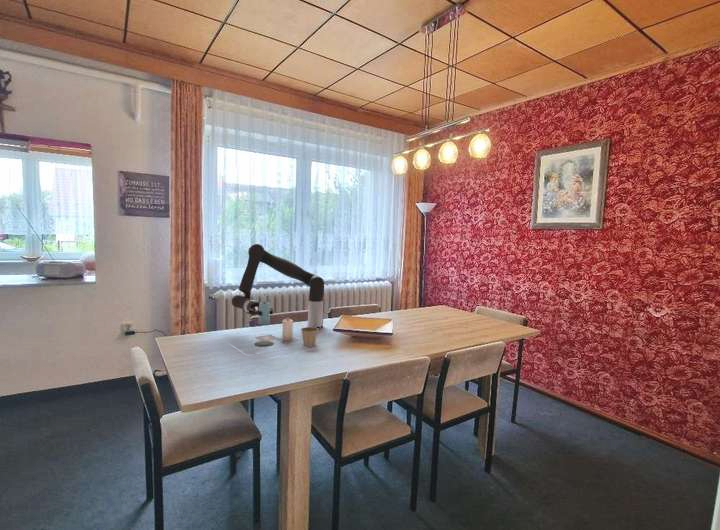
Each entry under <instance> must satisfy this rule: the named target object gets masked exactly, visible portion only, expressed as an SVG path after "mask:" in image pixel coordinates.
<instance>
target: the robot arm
mask: <svg viewBox="0 0 720 530" xmlns="http://www.w3.org/2000/svg"><path fill="white" fill-rule="evenodd" d="M247 253H248V260H247V264H246V267H245V270H244V273H243V275H242V278H241V281H240V283H239V287H238V290H239V292H241V293H243V295H239V294H236V295H234V296H233V297H232V299H231V305H232V306H233V307H235V308H237V309H241V310H243V311H245V312H246V314H248V315H251V316H258V317H259V316H262V312H261V311H259V303H260V302H261V301H257V300H254V299H251V298H252V297H251V294H252V288H253V285H254V281H255V278H256V274H257V270H258V268H259V265H260V263H262V264H264V265H267V266H269V267H270V268H272V269H273V270H275V271H277V272H279V273H280V274H282V275H284V276H286V277H288V278H291V279H294V280H297V281H300V282H302V283H303V284H305V285H307V286H308V287H309V295H308V305H307V307H308V310H307V327H314V328H317V327H320V328H322V327H324V311H323V309H324V308H323V303H324V301H323V300H324V295H325V281H324V279H323V277H321V276H319V275H317V274H313V273H312V272H309V271H307V270H306V269H303V268H302V267H300V265H297V264H296V263H295V262H292V261H290V260H288V259H286V258H284V257H281V256H278V255H275V254H272V253H270V252H269V251H267V250H266V249H265V248H264V246H263V245H262V244H259V243H254V244H252V245H250V247H249V249H248V252H247ZM273 314H274V308H273V307H272V306H270V315H273ZM321 326H322V327H321ZM317 329H318V328H317Z"/></svg>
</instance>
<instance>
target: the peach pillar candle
mask: <svg viewBox="0 0 720 530" xmlns="http://www.w3.org/2000/svg"><path fill="white" fill-rule="evenodd" d="M293 329H294V320H293V319H292V318H291V319H290V317H287V318H285V319H282V331H281V333H282V334H281V335H282V336H281V338H282V340H283V341H291V340H292V337H293V334H294V333H293Z"/></svg>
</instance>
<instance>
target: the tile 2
mask: <svg viewBox="0 0 720 530" xmlns="http://www.w3.org/2000/svg"><path fill="white" fill-rule="evenodd" d="M276 338H277V339H275V340H276V341H278V342H279V343H282V344H289V343H294V342H299V341H300V340H299V339H297V338H295V337H293V336H292V340H291V341H283V340H282V337H276Z"/></svg>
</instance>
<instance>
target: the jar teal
mask: <svg viewBox="0 0 720 530" xmlns="http://www.w3.org/2000/svg"><path fill="white" fill-rule="evenodd" d="M259 302H260V303H259V311H261V312H262V316H259V315H258V324H259V325H264V326H265V325H266V326H267V325H269V324H270V321H271V319H270V318H271V314H270V307H271V302H269V301H267V300H262V301H259Z"/></svg>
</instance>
